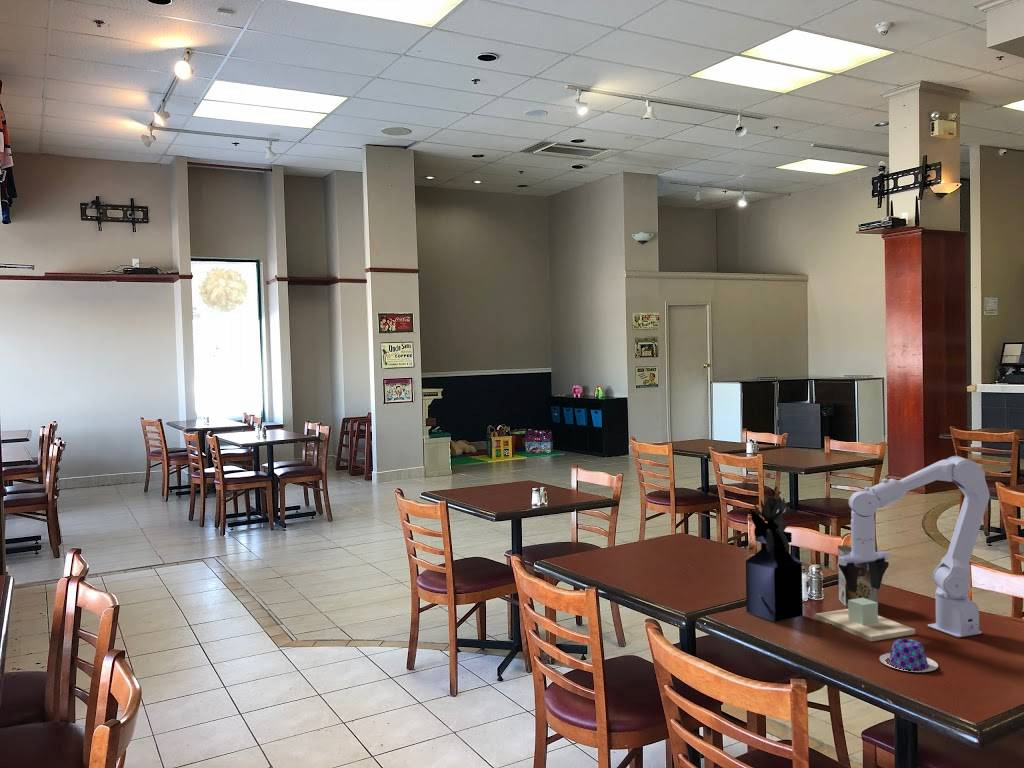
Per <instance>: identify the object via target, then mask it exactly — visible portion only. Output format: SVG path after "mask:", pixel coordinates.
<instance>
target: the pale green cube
mask: <svg viewBox="0 0 1024 768" xmlns="http://www.w3.org/2000/svg"><path fill="white" fill-rule="evenodd" d="M878 608H879V602H878V603H877V602H874V601H871V600H868V599H865V598H858V599H851V600H848V606H847V609H848V620H851V621H853V622H856V623H858V624H861V625H867V624H873V623H878V616H879V609H878Z"/></svg>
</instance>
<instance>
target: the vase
mask: <svg viewBox="0 0 1024 768" xmlns="http://www.w3.org/2000/svg"><path fill="white" fill-rule="evenodd" d="M776 491H778V486H775V487H774V489H773V490H772V493H771V496H769V495H767V494H764V503H763V500H762V499H760V508H761V511H760V510H759V508H758V507H757V504H756V502H755V501H754V502H753V507H754V509H755V510H756V512H755V511H754V510H753V509H750V516H751V520H752V523H753V525H754V527H755V528H754V532H753V535H754V537H755V538H754V539H755V540H754V541H755V542H757V543H760V544H761V545H760V549H759V550H758V551H757V552H756V553H754V554H753V555H752V556H750V557H749V558H747V559H746V560H745V594H746V596H745V601H746V604H745V605H746V606H745V607H746V613H747V614H749V615H751V616H755V617H758V618H761V619H764V620H766V621H769V622H773V623H779V622H783V621H786V620H790V619H795V618H800V617H803V616H804V615H803V613H804V611H803V609H804V608H803V605H804V604H803V601H804V600H803V597H804V596H803V562H802V561H800V560H799V559H798V558H796V557H795V556H794V555H793V554H791V553H789V551H790V545H789V544H790V543H792V542H793V540H792V538H793V537H792V532H788V531H785V530H786V529H787V528H788V526H789V523H783V515H784V513H785V512H786V510H787V509H786V508H787V505H788V504H787V501H786V500H785V498H784V497H783V498H782V497H781V496H779V497H778V495H779V494H782V492H781V491H779V492H778V493H777V494H776V496H775V492H776ZM777 497H778V498H777ZM764 519H765V520H766V521H767V522H766V521H765V520H764Z"/></svg>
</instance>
